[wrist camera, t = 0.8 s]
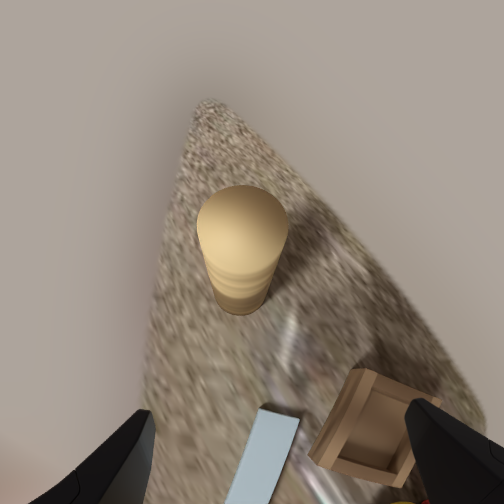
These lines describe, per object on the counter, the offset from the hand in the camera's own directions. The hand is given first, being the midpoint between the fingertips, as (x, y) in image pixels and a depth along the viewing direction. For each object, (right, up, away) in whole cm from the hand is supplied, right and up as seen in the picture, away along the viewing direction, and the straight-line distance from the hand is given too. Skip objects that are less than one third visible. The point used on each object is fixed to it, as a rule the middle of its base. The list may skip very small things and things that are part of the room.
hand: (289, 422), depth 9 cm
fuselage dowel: (-2, +3, +15) cm, 15 cm away
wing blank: (-1, -11, +9) cm, 14 cm away
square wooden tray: (+8, -8, +11) cm, 16 cm away
